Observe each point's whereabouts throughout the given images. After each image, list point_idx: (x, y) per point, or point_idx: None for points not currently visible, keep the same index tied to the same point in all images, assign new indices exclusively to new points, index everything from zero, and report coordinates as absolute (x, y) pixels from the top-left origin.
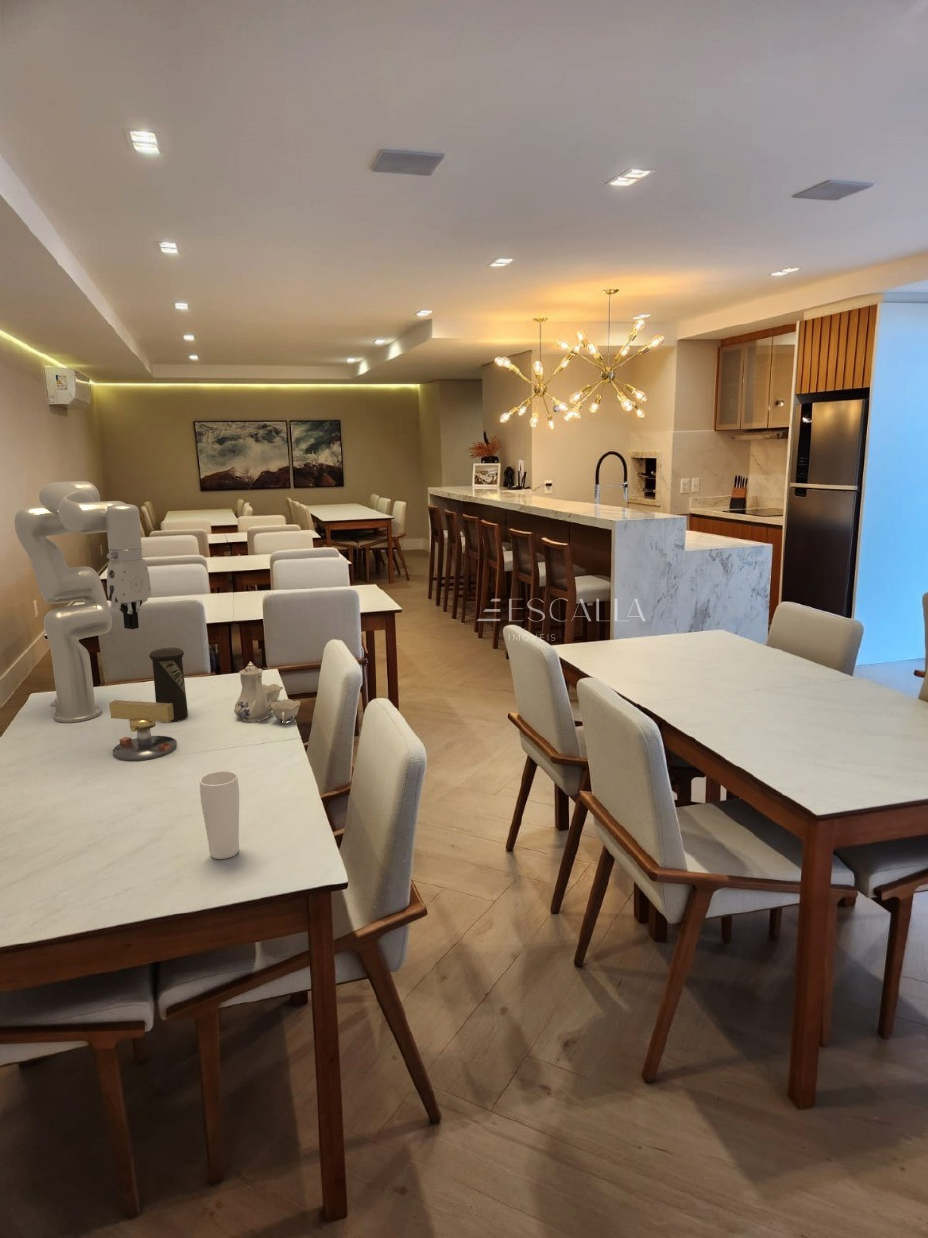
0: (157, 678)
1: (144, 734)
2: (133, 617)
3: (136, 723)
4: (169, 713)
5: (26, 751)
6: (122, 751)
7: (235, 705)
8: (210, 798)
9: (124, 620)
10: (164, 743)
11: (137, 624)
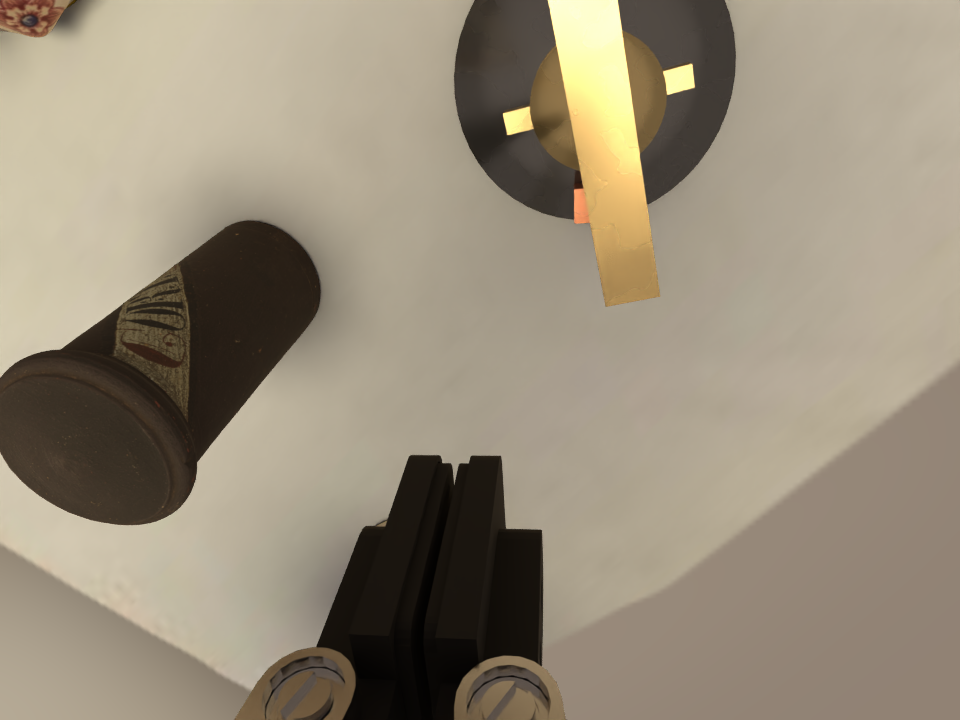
0: (239, 381)
1: None
2: (475, 580)
3: (663, 77)
4: None
5: (745, 476)
6: (678, 129)
7: (40, 22)
8: None
9: (541, 645)
10: None
11: (419, 484)
